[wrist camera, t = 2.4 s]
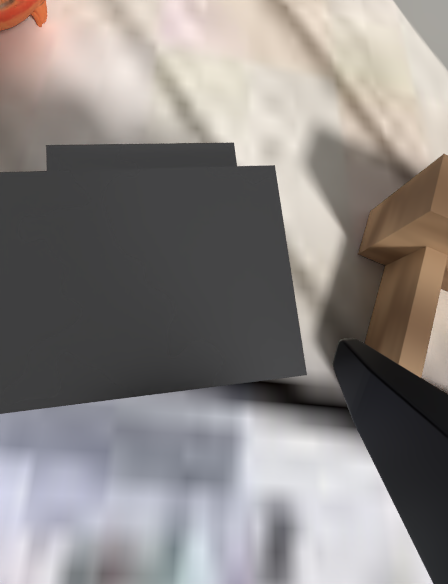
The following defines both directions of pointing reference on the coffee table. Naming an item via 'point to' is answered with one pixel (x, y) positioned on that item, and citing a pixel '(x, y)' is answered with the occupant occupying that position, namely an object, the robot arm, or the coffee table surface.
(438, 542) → the robot arm
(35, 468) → the coffee table surface
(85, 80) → the coffee table surface
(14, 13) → the pot
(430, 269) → the brown wooden frame
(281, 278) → the stepped grey pillar
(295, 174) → the coffee table surface
